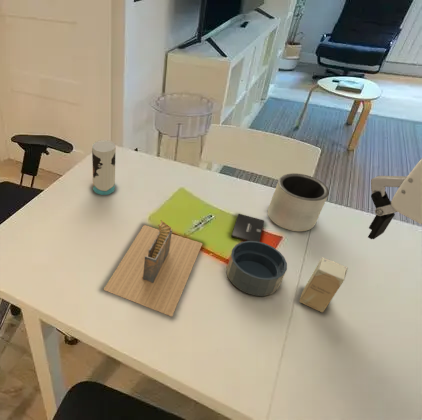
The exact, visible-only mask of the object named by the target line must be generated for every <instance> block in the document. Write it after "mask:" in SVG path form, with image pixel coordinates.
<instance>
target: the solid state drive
mask: <svg viewBox="0 0 422 420" xmlns="http://www.w3.org/2000/svg"><path fill="white" fill-rule="evenodd" d="M264 224H265V220H264V219H260V218H257V217H253V216H249V215H246V214H241V213H238V214H237V217H236V219H235V224H234V226H233V230H232V233H231V238H234V239H238V240H242V241H243V242H245V241H258V242H261V237H262V233H263V229H264V228H263V227H264Z"/></svg>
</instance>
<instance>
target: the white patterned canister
mask: <svg viewBox="0 0 422 420" xmlns="http://www.w3.org/2000/svg"><path fill="white" fill-rule="evenodd" d="M116 148H117V146H116V144H115V142H113V141H111V140H108V139H107V140H106V139H100V140H97V141H95V142H93V143H92V145H91V157H92V158H91V159H92V160H91V161H92V163H91V164H92V190H93V192H94V193H95V194H98V195H101V196H108V195H111V194H112V193H114V192H115V190H116Z"/></svg>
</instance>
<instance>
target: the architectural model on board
mask: <svg viewBox="0 0 422 420" xmlns="http://www.w3.org/2000/svg"><path fill="white" fill-rule="evenodd" d="M157 227H158V228H154V227H151V226H149V225H146V224H143V226H142V227H141V229H140V231H139V232H138V233H137V235H136V237H135V238H134V240H133V242H132V243H131V245H130V246H129V248H128V250H126V253H125V254H124V256H123V258H122V259H121V261H120V262H119V264H118V266H117V267H116V269H115V270H114V272H113V274H112V276H111V277H110V278H109V280H108V282H107V283H106V285H105V286H104V288H103V291H106V292H107V293H108V292H109V293H111V294H113V295H115V296H118V297H121V298H123V299H126V300H129V301H131V302H134V303H136V304H138V305H141V306H144V307H146V308H149V309H151V310H154V311H156V312H159V313H161V314H163V315H167V316H169V317H173V316H174V313H175V311H176V308H177V306H178V304H179V301H180V299H181V296H182V294H183V291H184V290H185V286H186V284H187V282H188V279H189V277H190V275H191V273H192V270H193V267H194V265H195V263H196V260H197V258H198V255H199V253H200V250H201V248H202V246H203V243H202V242H200V241H197V240H193V239H190V238H186V237H184V236H181V235H177V234H175V233H173V229H172V227H171V226H170V225H169V224H167V223H165V222H164V221H163V220H161V221H160V223H159V224H157Z"/></svg>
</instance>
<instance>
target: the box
mask: <svg viewBox="0 0 422 420" xmlns="http://www.w3.org/2000/svg"><path fill="white" fill-rule="evenodd" d="M348 269H349V268H348V267H347V266H346V265H343V264H341V263H338V262H336V261H333V260H330V259H328V258H325V257H323V256H322V257H320V260H319V261H318V263H317V265H316V267H315V269H314V270H313V272H312V274H311V275H310V277H309V279H308V281H307V283H306V284H305V286H304V288H303V289H302V291H301V295H300V297H299V303H301V304H303V305H305V306H307V307H309V308H311V309H313V310H316V311H318V312H319V313H320V312H321V313H324V312H325V310H326V309H327V307H328V305H329V304H330V302H331V301H332V299H333V298H334V296H335V295H336V293H337V292H338V290H339V289H340V287H341V286H342V285H343V284H344V281H345V280H346V276H347V273H348Z"/></svg>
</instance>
